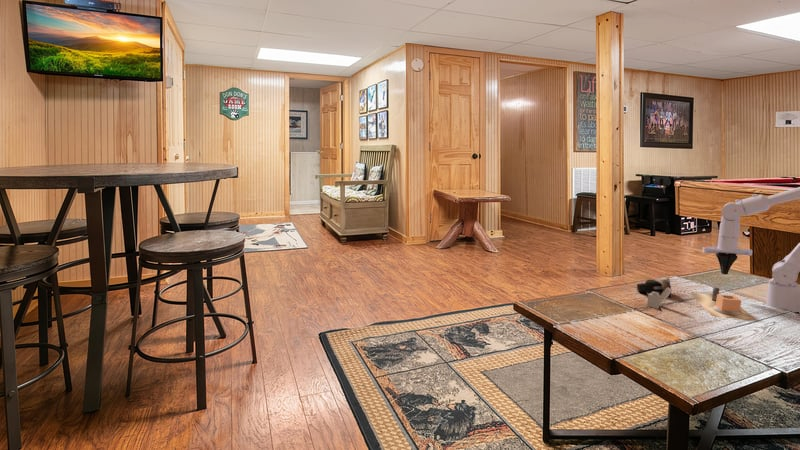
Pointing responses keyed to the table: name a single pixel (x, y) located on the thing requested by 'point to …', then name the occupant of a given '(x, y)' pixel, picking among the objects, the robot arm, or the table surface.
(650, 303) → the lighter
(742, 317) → the board
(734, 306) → the collar
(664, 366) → the table surface
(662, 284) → the caster wheel
